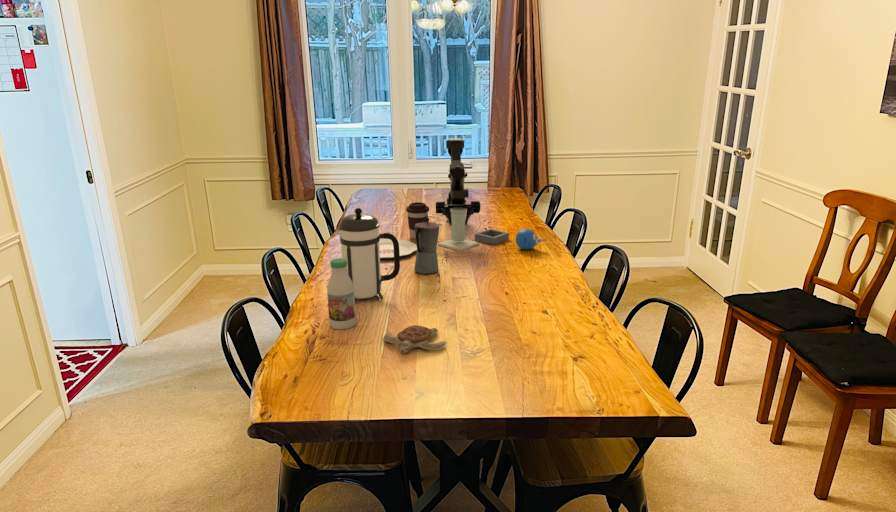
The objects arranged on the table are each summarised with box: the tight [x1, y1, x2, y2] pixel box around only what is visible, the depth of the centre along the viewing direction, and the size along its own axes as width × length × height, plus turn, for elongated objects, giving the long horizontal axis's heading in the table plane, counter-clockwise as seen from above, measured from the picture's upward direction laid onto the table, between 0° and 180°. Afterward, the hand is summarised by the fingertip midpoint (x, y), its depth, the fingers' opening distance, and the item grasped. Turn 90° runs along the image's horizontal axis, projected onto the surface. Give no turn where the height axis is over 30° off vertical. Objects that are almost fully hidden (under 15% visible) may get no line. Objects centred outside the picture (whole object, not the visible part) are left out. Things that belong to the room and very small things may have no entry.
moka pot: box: [414, 217, 440, 275], centre depth 211 cm, size 10×15×20 cm, turn 161°
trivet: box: [437, 238, 480, 252], centre depth 244 cm, size 12×12×1 cm
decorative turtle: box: [382, 324, 448, 354], centre depth 159 cm, size 18×17×5 cm
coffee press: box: [334, 207, 401, 302], centre depth 187 cm, size 17×16×30 cm
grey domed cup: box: [450, 207, 467, 241], centre depth 241 cm, size 9×7×13 cm
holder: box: [474, 228, 510, 246], centre depth 250 cm, size 10×10×3 cm
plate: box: [379, 238, 418, 260], centre depth 236 cm, size 25×25×2 cm
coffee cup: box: [405, 201, 430, 240], centre depth 253 cm, size 10×10×15 cm
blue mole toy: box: [515, 228, 546, 251], centre depth 237 cm, size 12×12×8 cm
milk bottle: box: [326, 257, 357, 330], centre depth 167 cm, size 8×8×20 cm
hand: (458, 224), depth 240 cm, fingers closed on grey domed cup, 6 cm apart
